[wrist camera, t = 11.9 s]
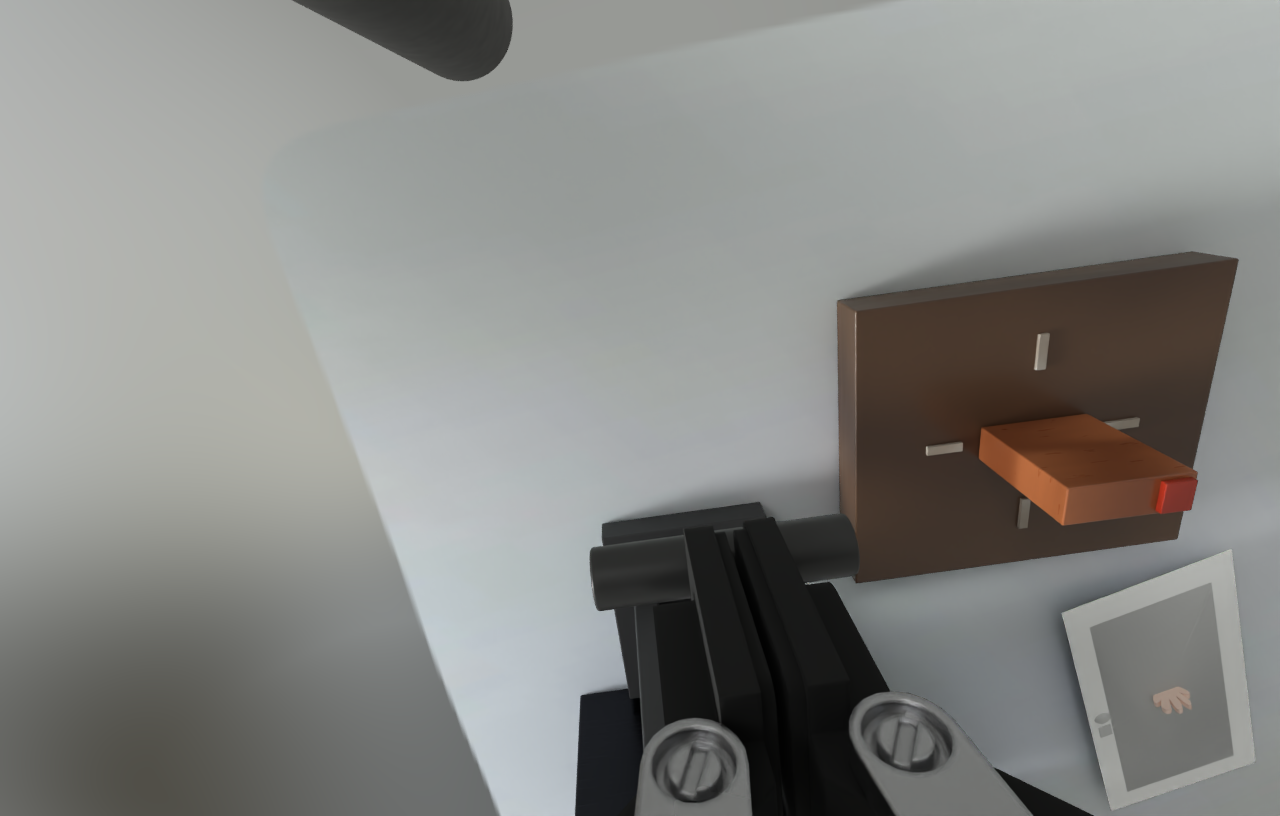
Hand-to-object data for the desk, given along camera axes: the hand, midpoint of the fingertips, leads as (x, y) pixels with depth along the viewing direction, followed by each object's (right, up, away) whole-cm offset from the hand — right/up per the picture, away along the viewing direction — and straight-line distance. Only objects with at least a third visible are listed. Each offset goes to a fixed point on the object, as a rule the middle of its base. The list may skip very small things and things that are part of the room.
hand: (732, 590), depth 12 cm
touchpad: (+25, -10, +21) cm, 34 cm away
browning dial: (+14, +3, +15) cm, 21 cm away
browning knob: (+14, +2, +13) cm, 19 cm away
